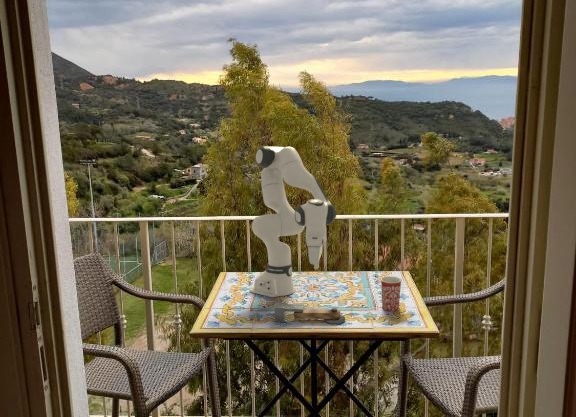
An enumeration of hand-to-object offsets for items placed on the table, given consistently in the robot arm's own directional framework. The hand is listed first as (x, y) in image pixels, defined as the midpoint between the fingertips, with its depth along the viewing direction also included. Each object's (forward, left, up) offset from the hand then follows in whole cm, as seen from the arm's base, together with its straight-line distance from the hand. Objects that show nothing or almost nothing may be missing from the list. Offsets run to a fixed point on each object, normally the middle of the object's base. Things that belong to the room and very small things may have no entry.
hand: (316, 268), depth 231 cm
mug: (+28, +18, -20) cm, 39 cm away
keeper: (-7, -13, -20) cm, 25 cm away
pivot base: (+11, -6, -20) cm, 23 cm away
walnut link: (+4, -9, -18) cm, 21 cm away
